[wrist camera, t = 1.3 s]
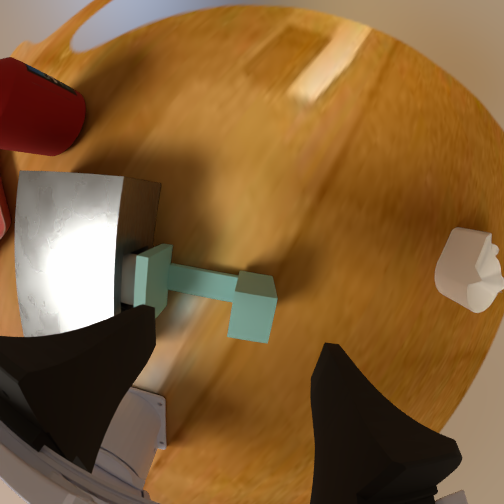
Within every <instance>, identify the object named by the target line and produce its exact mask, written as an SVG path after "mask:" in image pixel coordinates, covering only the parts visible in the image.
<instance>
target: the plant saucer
mask: <svg viewBox="0 0 504 504" xmlns="http://www.w3.org/2000/svg"><path fill="white" fill-rule="evenodd" d="M10 224H11V216H10V212H9V209H8V205H7V201H6V197H5V193H4V189H3V185H2V180H1V175H0V240H1V238H2V237H3V236H4V235H5V233H6V232H7V231H8V229H9V227H10Z"/></svg>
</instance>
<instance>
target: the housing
mask: <svg viewBox="0 0 504 504" xmlns="http://www.w3.org/2000/svg"><path fill="white" fill-rule="evenodd" d="M160 189H161V183H156V182H151V181H145V180H140V179H134V178H128V177H122V176H111V175H99V174H85V173H69V172H49V171H20V174H19V181H18V189H17V200H16V213H15V270H16V284H17V294H18V302H19V310H20V316H21V323H22V328H23V334H24V337H36V336H46V335H52V334H58V333H64V332H68V331H72V330H76V329H79V328H83V327H86V326H89V325H91V324H94V323H97V322H100V321H102V320H105V319H107V318H110V317H112V316H115V315H117V314H119V313H122V312H124V311H126V310H129V309H131V308H133V307H134V305H130V304H126V303H122V302H121V281H122V262H123V256H124V255H126V254H129V253H131V254H135V255H138V254H141V253H143V252H145V251H147V250H149V249H151V248H153V240H154V231H155V223H156V216H157V209H158V202H159V195H160Z"/></svg>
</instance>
